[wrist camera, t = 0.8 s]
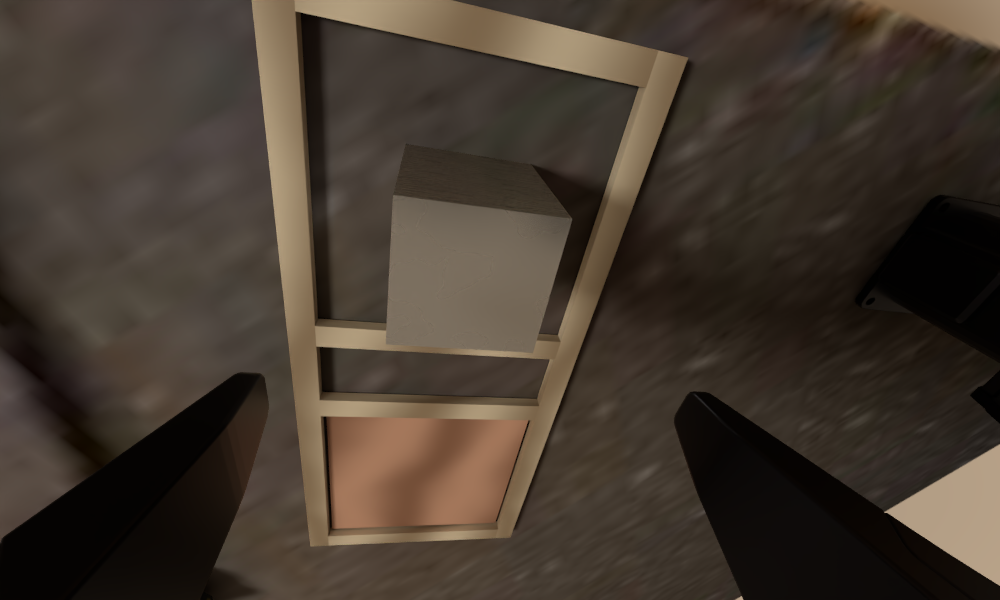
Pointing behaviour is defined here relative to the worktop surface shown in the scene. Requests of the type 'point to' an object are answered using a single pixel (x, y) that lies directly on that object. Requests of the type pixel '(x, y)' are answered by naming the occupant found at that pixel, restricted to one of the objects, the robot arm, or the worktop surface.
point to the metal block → (471, 252)
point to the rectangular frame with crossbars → (427, 418)
